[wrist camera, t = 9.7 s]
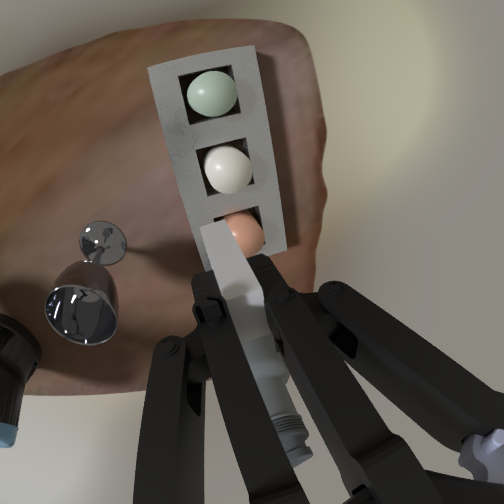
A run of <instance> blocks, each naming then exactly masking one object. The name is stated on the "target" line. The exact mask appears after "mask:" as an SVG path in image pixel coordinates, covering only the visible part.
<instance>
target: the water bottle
mask: <svg viewBox="0 0 504 504" xmlns="http://www.w3.org/2000/svg"><path fill="white" fill-rule="evenodd" d="M270 332H271V330H270ZM241 345H242V347H243V350H244V353H245V355H246V358H247V360H248V363H249V365H250V368H251V371H252V373H253V376H254V378H255V381H256V383H257V386H258V388H259V391H260V393H261V396H262V398H263V400H264V403H265V405H266V408H267V410H268V413H269V415H270V417H271V420H272V422H273V424H274V427H275V429H276V432H277V434H278V436H279V439H280V441H281V443H282V445H283V448H284V450H285V452H286V455H287V457H288V459H289V461H290V463H291V466H292V468H294V467H296V466H298V465H299V464H301V463H302V462H304V461H306V460H308V459H309V458H311V457H312V456H313V453H312V451H311V449H310V447H307V446H306V444H305V442H304V441H305V440H306V439H307V438H308V436H309V433H308V430H307V429H306V427H305V425H304V423H303V421H302V417H301V415H299V414H298V413H297V411H296V408H295V406H294V404H293V402H292V399H291V397H290V395H289V393H288V390H287V388H286V386H285V384H286V383H287V381H288V379H289V375H290V373H289V371H288V369H287V367H286V365H285V363H284V361H283V359H282V357H281V355H280V352H278V353H277V352H276V347H275V342H274V336H273V334H272V332H271V334H269V335H266V336H263V337H260V338H257V339H255V340H252V341H249V342H246V343H243V344H241Z"/></svg>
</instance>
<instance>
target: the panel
mask: <svg viewBox="0 0 504 504" xmlns="http://www.w3.org/2000/svg"><path fill="white" fill-rule="evenodd" d="M225 67H226V68H227V72H228V76H230V77H231V78H232V79H233V81H234V82H235V84H236V87H237V99H236V102H235V104H234V107H235V112H232V113H228V114H223V115H220V116H215V117H210V118H206V119H202V120H199V121H195V122H191V123H189V122H188V118H187V113H186V109H185V105H184V101H183V96H182V92H181V88H180V83H179V79H178V78H179V77H183V76H187V75H192V74H196V73H200V72H205V71H210V70H214V69H220V68H225ZM147 69H148V73H149V77H150V82H151V86H152V90H153V94H154V98H155V102H156V107H157V110H158V114H159V118H160V122H161V126H162V130H163V134H164V137H165V141H166V145H167V148H168V152H169V156H170V159H171V163H172V166H173V170H174V173H175V177H176V180H177V184H178V187H179V190H180V194H181V197H182V200H183V204H184V207H185V210H186V213H187V217H188V220H189V223H190V226H191V229H192V232H193V236H194V239H195V242H196V245H197V248H198V251H199V254H200V257H201V260H202V263H203V266H204V269H205V272H206V271H209V270H212V267H211V264H210V260H209V257H208V254H207V250H206V247H205V244H204V241H203V237H202V234H201V230H200V227H201V226H204V225H207V224H211V223H214V220H213V218H216V217H220V216H223V215H227V214H230V213H234V212H237V211H241V210H244V209H248V208H251V207H254V209H255V214H256V219H257V223H258V224H259V226H260V227H261V229H262V230H263V232H264V235H265V241H264V245H263V247H262V248H261V250H260V251H259V252H258V253H257V254H255V255H258V254H261V253H262V254H264V255H266V256H270V255H273V254H276V253H279V252H283V251H286V250H287V244H286V236H285V228H284V221H283V213H282V206H281V199H280V192H279V185H278V179H277V172H276V166H275V159H274V153H273V147H272V140H271V134H270V128H269V122H268V116H267V111H266V105H265V99H264V94H263V88H262V83H261V78H260V72H259V67H258V62H257V57H256V52H255V47H254V45H252V46H244V47H237V48H230V49H224V50H218V51H213V52H207V53H202V54H198V55H193V56H189V57H184V58H180V59H176V60H172V61H168V62H165V63H161V64H158V65H154V66H151V67H148V68H147ZM237 139H241V142H242V147H243V152H244V155H245V156H247V157H248V159H249V160H250V162H251V164H252V169H253V172H252V177H251V180H250V182H249V183H248V185H247V186H246V187H245V188H244V189H242V190H241V191H239V192H237V193H233V194H225V193H221V192H219V191H217V190H216V189H214V188H213V187H211V188H207V189H205V186H204V182H203V178H202V174H201V170H200V166H199V162H198V158H197V154H196V150H197V149H201V148H205V147H209V146H212V145H216V144H220V143H224V142H228V141H232V140H237Z"/></svg>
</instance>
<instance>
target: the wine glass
mask: <svg viewBox="0 0 504 504" xmlns="http://www.w3.org/2000/svg"><path fill="white" fill-rule="evenodd" d="M79 243H80V248H81V251H82V253H83V255H84V256H85V257H86V258H87V259H88V260H89V261H77V262H75V263H73V264H71V265H70V266H68V267H67V268H66V269H65V270H64V271H63V272H62V273H61V274H60V275H59V276H58V278H57V279H56V280H55V282H54V284H53V286H52V287H51V289H50V291H49V294H48V296H47V299H46V302H45V315H46V318H47V320H48V322H49V324H50V325H51V326H52V328H53V329H54V330H55V331H56V332H57V333H58V334H59V335H61V336H62V337H64V338H65V339H67V340H69V341H71V342H74V343H77V344H81V345H98V344H102V343H104V342H106V341H108V340H109V339H110V338H111V337H112V336H113V335H114V333H115V331H116V328H117V322H118V309H119V302H118V293H117V287H116V284H115V281H114V279H113V277H112V275H111V274H110V273H109V271H108V270H107V269H105V268H104V267H103V266H110V265H113V264H115V263H117V262H118V261H120V260H121V259H122V257H123V256H124V254H125V251H126V240H125V237H124V235H123V233H122V232H121V231H120V230H119V228H117V227H116V226H115V225H113V224H111V223H109V222H105V221H97V222H93V223H90V224H89V225H87V226H86V227H85V228H84V229H83V231H82V232H81V235H80V240H79Z"/></svg>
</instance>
